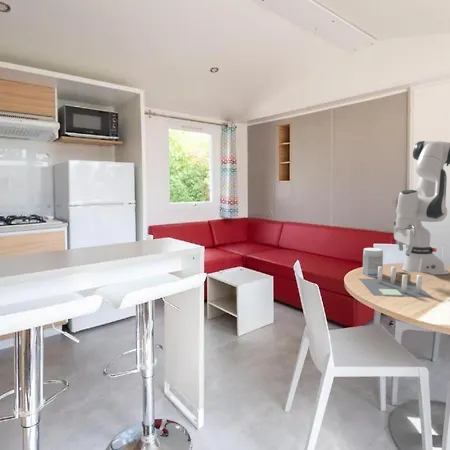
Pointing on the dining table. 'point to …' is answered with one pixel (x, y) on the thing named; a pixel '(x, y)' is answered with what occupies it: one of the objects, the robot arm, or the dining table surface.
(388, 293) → the pad
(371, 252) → the supplement tub
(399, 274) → the ring
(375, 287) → the board
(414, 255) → the robot arm
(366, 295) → the dining table surface
